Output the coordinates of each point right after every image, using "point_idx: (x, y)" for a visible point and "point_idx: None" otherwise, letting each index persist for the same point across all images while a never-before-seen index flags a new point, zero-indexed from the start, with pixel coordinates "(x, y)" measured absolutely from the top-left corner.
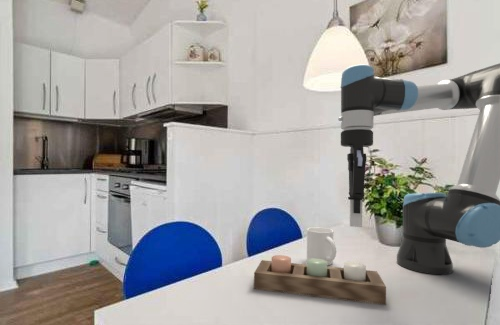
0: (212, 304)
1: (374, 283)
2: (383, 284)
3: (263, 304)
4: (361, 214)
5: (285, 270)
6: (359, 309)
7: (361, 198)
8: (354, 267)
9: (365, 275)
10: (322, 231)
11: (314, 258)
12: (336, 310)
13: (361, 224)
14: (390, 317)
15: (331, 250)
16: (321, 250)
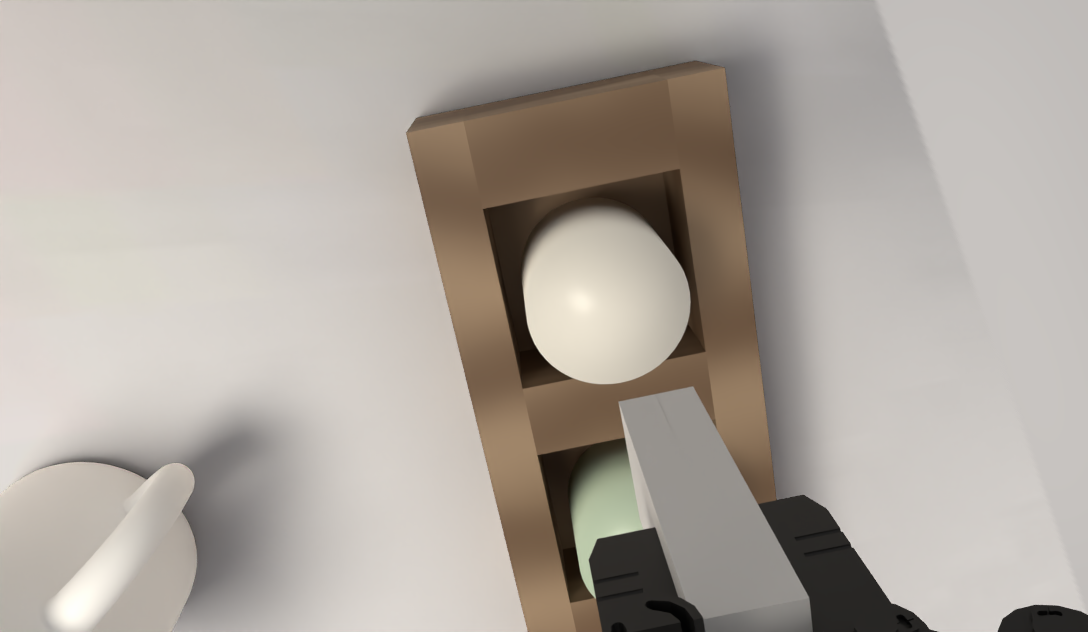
0: None
1: (696, 145)
2: (687, 84)
3: (929, 624)
4: (734, 471)
5: None
6: (815, 205)
7: (917, 629)
8: (674, 304)
9: (616, 213)
10: None
11: (588, 585)
12: (872, 315)
13: (702, 407)
14: (852, 38)
15: (69, 522)
16: (152, 589)
